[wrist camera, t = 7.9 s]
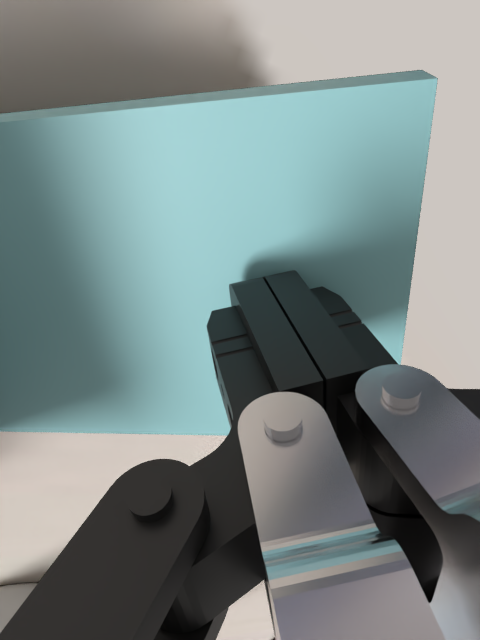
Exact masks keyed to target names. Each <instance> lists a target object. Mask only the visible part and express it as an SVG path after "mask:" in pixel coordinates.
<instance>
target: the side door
mask: <svg viewBox="0 0 480 640" xmlns="http://www.w3.org/2000/svg"><path fill="white" fill-rule="evenodd" d="M437 79H438V78H436V77H434V76H433V75H431V74H428V73H427V72H425V71H423V70H417V71H406V72H396V73H387V74H377V75H367V76H359V77H348V78H339V79H330V80H319V81H310V82H300V83H291V84H281V85H271V86H262V87H252V88H243V89H233V90H223V91H214V92H204V93H195V94H185V95H175V96H166V97H156V98H146V99H137V100H127V101H118V102H108V103H98V104H89V105H79V106H70V107H60V108H50V109H41V110H31V111H22V112H12V113H2V114H0V431H8V432H64V433H120V434H176V435H228V434H229V432H230V430H231V428H230V424H229V421H228V418H227V414H226V410H225V407H224V404H223V400H222V396H221V393H220V390H219V386H218V383H217V379H216V374H215V369H214V364H213V358H212V353H211V348H210V342H209V337H208V332H207V327H206V326H207V323H208V320H209V318H210V315H211V312H212V311H214V310H218V309H223V308H227V307H231V300H230V293H229V284H232V283H236V282H241V281H246V280H250V279H255V278H260V277H264V276H269V275H273V274H278V273H282V272H287V271H292V270H295V271H297V272H298V274H299V275H300V276H301V278H302V279H303V280H304V282H305V283H306V284H307V286H308V287H309V288H310V289H312V288H317V287H321V286H323V287H325V288H326V289H328V290H330V291H332V292H334V293H336V294H338V295H340V296H341V297H342V298H343V299H344V300H345V302H346V303H347V304H348V305H349V306H350V307H351V309H352V312H355V313H356V315H357V316H358V317H359V318H360V319H361V322H362V324H363V323H364V324H365V325H366V326H367V328H368V329H369V330H370V331H371V332H372V334H373V335H374V336H375V337H376V338H377V340H378V341H379V342H380V343H381V344H382V345H383V347H384V348H385V349H386V350H387V351H388V353H389V354H390V355H391V356H392V357H393V358H394V360H395V361H396V362H397V363H398V364H399V365H400V364H401V357H402V349H403V341H404V334H405V325H406V318H407V311H408V303H409V295H410V287H411V280H412V272H413V264H414V257H415V249H416V241H417V234H418V226H419V218H420V211H421V203H422V195H423V187H424V180H425V179H424V178H425V172H426V164H427V157H428V149H429V141H430V134H431V126H432V118H433V110H434V103H435V95H436V87H437Z"/></svg>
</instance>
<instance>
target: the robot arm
mask: <svg viewBox="0 0 480 640" xmlns="http://www.w3.org/2000/svg"><path fill="white" fill-rule="evenodd" d="M229 293H230V300H231V307H227V308H223V309H218V310H214V311H212V312H211V315H210V318H209V320H208V323H207V326H206V327H207V332H208V337H209V342H210V348H211V353H212V358H213V364H214V369H215V374H216V379H217V383H218V386H219V390H220V393H221V396H222V400H223V404H224V407H225V410H226V414H227V418H228V421H229V424H230V428H231V430H230V432H229V434H228V436H227V437H226V439H225V440H224V442H223V443H222V444H221V445H220V446H219V447H218V448H217V449H216V450H215V451H213V452H212V453H211V454H209V455H208V456H206V457H204V458H203V459H201V460H199V461H198V462H196V463H194V464H193V465H191V466H188V465H186V464H184V463H182V462H180V461H176V460H172V459H156V460H151V461H147V462H144V463H141V464H139V465H137V466H135V467H133V468H131V469H130V470H128V471H127V472H125V473H124V474H123V475H122V476H120V477H119V478H118V479H117V480H116V481H115V482H114V484H113V485H112V486H111V487H110V488H109V490H108V491H107V492H106V494H105V495H104V496H103V498H102V499H101V500H100V502H99V503H98V504H97V506H96V507H95V508H94V510H93V511H92V512H91V514H90V515H89V516H88V518H87V519H86V520H85V522H84V523H83V524H82V526H81V527H80V528H79V529H78V531H77V532H76V533H75V535H74V536H73V537H72V539H71V540H70V541H69V543H68V544H67V545H66V547H65V548H64V549H63V551H62V552H61V553H60V555H59V556H58V557H57V559H56V560H55V561H54V563H53V564H52V565H51V567H50V568H49V569H48V571H47V572H46V573H45V574H44V576H43V577H42V578H41V580H40V581H39V582H38V584H37V585H36V586H35V588H34V589H33V590H32V592H31V593H30V594H29V596H28V597H27V598H26V600H25V601H24V602H23V604H22V605H21V606H20V608H19V609H18V610H17V612H16V613H15V614H14V616H13V617H12V618H11V619H10V621H9V622H8V623H7V625H6V626H5V627H4V629H3V630H2V631H1V633H0V640H216V638H217V635H218V633H219V631H220V628H221V626H222V623H223V621H224V619H225V616H226V614H227V611H228V607H229V606H230V605H232V604H233V603H234V602H235V601H237V600H238V599H239V598H241V597H242V596H243V595H245V594H246V593H247V592H248V591H250V590H251V589H252V588H254V587H255V586H256V585H258V584H259V583H260V582H261V581H263V580H264V583H265V589H266V594H267V599H268V604H269V609H270V614H271V620H272V625H273V630H274V635H275V640H480V389H448V388H446V387H445V386H444V385H443V384H441V383H440V382H439V381H438V380H437V379H436V378H435V377H433V376H432V375H430V374H429V373H427V372H425V371H423V370H420V369H417V368H414V367H411V366H406V365H399V364H398V363H397V362H396V361H395V360H394V358H393V357H392V356H391V355H390V354H389V353H388V351H387V350H386V349H385V348H384V347H383V345H382V344H381V343H380V342H379V341H378V340H377V338H376V337H375V336H374V335H373V334H372V332H371V331H370V330H369V329H368V328H367V326H366V325H365V324H364V323H363V324H362V322H361V319H360V318H359V317H358V316H357V315H356V313H355V312H352V309H351V307H350V306H349V305H348V304H347V303H346V302H345V300H344V299H343V298H342V297H341V296H340V295H338V294H336V293H334V292H332V291H330V290H328V289H326V288H325V287H323V286H321V287H317V288H312V289H310V288H309V287H308V286H307V284H306V283H305V282H304V280H303V279H302V278H301V276H300V275H299V274H298V272H297V271H295V270H292V271H287V272H282V273H278V274H273V275H269V276H264V277H260V278H255V279H250V280H246V281H241V282H236V283H232V284H229Z"/></svg>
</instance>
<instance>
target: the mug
mask: <svg viewBox="0 0 480 640" xmlns="http://www.w3.org/2000/svg"><path fill="white" fill-rule="evenodd" d="M37 584H38V583H24V584H13V585H6V586H0V633H1V631H2V630H3V629H4V627H5V626H6V625H7V623H8V622H9V621H10V619H11V618H12V617H13V616H14V614H15V613H16V612H17V610H18V609H19V608H20V606H21V605H22V604H23V602H24V601H25V600H26V598H27V597H28V596H29V594H30V593H31V592H32V590H33V589H34V588H35V586H36V585H37Z"/></svg>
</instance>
